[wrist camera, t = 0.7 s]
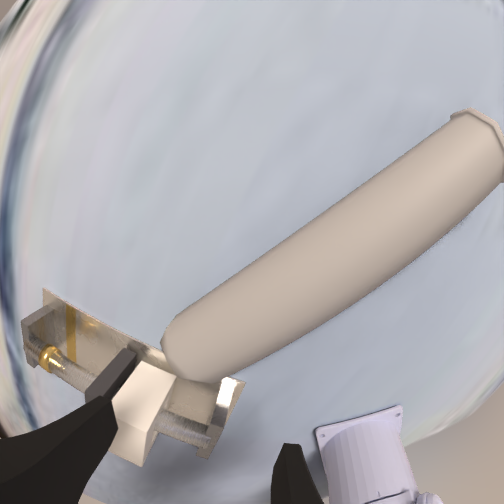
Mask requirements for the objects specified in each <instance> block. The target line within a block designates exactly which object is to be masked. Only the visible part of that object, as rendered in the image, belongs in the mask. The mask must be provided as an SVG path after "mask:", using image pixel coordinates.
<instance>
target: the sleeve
mask: <svg viewBox="0 0 504 504" xmlns="http://www.w3.org/2000/svg"><path fill="white" fill-rule="evenodd" d="M175 380H176V376H175V375H173V374H170V373H168V372H166V371H163V370H161V369H159V368H157V367H154V366H152V365H150V364H148V363H146V362H143V361H141V362H140V363H139V365H138V366H137V367H136V369H135V370H134V371H133V373H132V374H131V375H130V377H129V378H128V379H127V381H126V382H125V383H124V385H123V386H122V387H121V389H120V390H119V391H118V393H117V394H116V395H115V397H114V398H113V400H112V405H113V409H114V413H115V417H116V421H117V425H118V428H119V429H118V431H117V433H116V436H115V438H114V440H113V442H112V444H111V446H110V448H109V449H108V451H110V452H111V453H113V454H115V455H117V456H119V457H121V458H123V459H125V460H127V461H129V462H132V463H134V464H136V465H138V466H140V467H142V466H143V464H144V462H145V460H146V458H147V456H148V454H149V452H150V450H151V448H152V445H153V443H154V441H155V439H156V437H157V435H158V433H159V432H157V431H155V430H154V426H155V422H156V420H157V418H158V416H159V414H160V412H161V410H162V408H164V409H166V410H168V408H169V404H170V400H171V396H172V392H173V388H174V384H175Z"/></svg>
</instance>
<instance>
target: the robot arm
mask: <svg viewBox="0 0 504 504" xmlns="http://www.w3.org/2000/svg"><path fill="white" fill-rule="evenodd" d="M402 414H403V408H402V406H401V405H398V406H395V407H392V408H389V409H386V410H383V411H380V412H377V413H373V414H370V415H366V416H363V417H359V418H356V419H352V420H348V421H344V422H340V423H336V424H331V425H327V426H322V427H319V428H317V429H316V437H317V441H318V445H319V449H320V453H321V458H322V462H323V466H324V471H325V475H326V476H327V481H328V492H329V503H330V504H443V502H442V501H441V499H440V498H439V497H438V496H437V495H436V494H430V493H428V492H425V493H423V494H419V491H418V488H417V484H416V482H415V478H414V475H413V472H412V470H411V467H410V464H409V461H408V458H407V455H406V453H405V450H404V447H403V444H402V442H401V439H400V432H401V424H402ZM118 429H119V428H118V425H117V421H116V417H115V413H114V409H113V405H112V401H111V400H110V399H107V398H105V397H103V396H100V395H99V396H97V397H96V398H94V399H93V400H91V401H89V402H88V403H86V404H84V405H83V406H81V407H80V408H78V409H76V410H75V411H73V412H71V413H69V414H68V415H66V416H64V417H62V418H60V419H59V420H57V421H55V422H52V423H50V424H48V425H46V426H44V427H42V428H39V429H37V430H34V431H31V432H28V433H25V434H22V435H18V436H14V437H10V438H4V439H0V504H78V502H79V499H80V497H81V495H82V493H83V490H84V488H85V486H86V484H87V482H88V480H89V479H90V477H91V475H92V474H93V472H94V471H95V469H96V468H97V466H98V465H99V463H100V462H101V460H102V459H103V457H104V456H105V454H106V453H107V451H108V449H109V448H110V446H111V444H112V442H113V440H114V438H115V436H116V433H117V431H118ZM321 434H322V435H321ZM271 504H324V502H323V501H322V499H321V497H320V495H319V493H318V491H317V489H316V486H315V484H314V482H313V480H312V477H311V475H310V472H309V470H308V467H307V464H306V461H305V458H304V455H303V451H302V448H301V446H300V445H299V444H289V443H284V444H283V447H282V449H281V451H280V454H279V456H278V458H277V461H276V463H275V465H274V467H273V475H272V483H271Z"/></svg>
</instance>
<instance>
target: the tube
mask: <svg viewBox="0 0 504 504" xmlns="http://www.w3.org/2000/svg"><path fill="white" fill-rule="evenodd" d="M450 118H451V120H450V121H449V122H447V123H446V124H445V125H443V126H442V127H441V128H439V129H438V130H436V131H435V132H434V133H432V134H431V135H430V136H428V137H427V138H426V139H424V140H423V141H421V142H420V143H419V144H417V145H416V146H415V147H413V148H412V149H410V150H409V151H408V152H406V153H405V154H404V155H402V156H401V157H399V158H398V159H397V160H395V161H394V162H393V163H391V164H390V165H388V166H387V167H386V168H384V169H383V170H381V171H380V172H379V173H377V174H376V175H374V176H373V177H372V178H370V179H369V180H368V181H366V182H365V183H363V184H362V185H361V186H359V187H358V188H356V189H355V190H354V191H352V192H351V193H349V194H348V195H347V196H345V197H344V198H342V199H341V200H340V201H338V202H337V203H335V204H334V205H333V206H331V207H330V208H328V209H327V210H326V211H324V212H323V213H321V214H320V215H319V216H317V217H316V218H314V219H313V220H312V221H310V222H309V223H307V224H306V225H304V226H303V227H302V228H300V229H299V230H297V231H296V232H295V233H293V234H292V235H290V236H289V237H288V238H286V239H285V240H283V241H282V242H280V243H279V244H278V245H276V246H275V247H273V248H272V249H270V250H269V251H268V252H266V253H265V254H263V255H262V256H261V257H259V258H258V259H256V260H255V261H253V262H252V263H251V264H249V265H248V266H246V267H245V268H243V269H242V270H241V271H239V272H238V273H236V274H235V275H233V276H232V277H231V278H229V279H228V280H226V281H225V282H223V283H222V284H220V285H219V286H218V287H216V288H215V289H213V290H212V291H210V292H209V293H208V294H206V295H205V296H203V297H202V298H200V299H199V300H197V301H196V302H195V303H193V304H192V305H190V306H189V307H187V308H186V309H184V310H183V311H181V312H180V313H179V314H177V315H176V316H175V318H174V319H173V320H172V321H171V323H170V324H169V325H168V327H167V328H166V330H165V332H164V334H163V337H162V339H161V341H160V344H161V347H162V350H163V353H164V356H165V358H166V361H167V362H168V364H169V365H170V367H171V369H172V370H173V372H174V373H175V375H176V376H177V378H179V379H185V380H191V381H197V382H203V383H210V384H214V383H216V382H218V381H220V380H222V379H224V378H226V377H228V376H230V375H232V374H234V373H236V372H238V371H240V370H242V369H244V368H246V367H248V366H250V365H252V364H254V363H256V362H257V361H259V360H261V359H263V358H265V357H267V356H269V355H270V354H272V353H274V352H276V351H278V350H279V349H281V348H283V347H285V346H286V345H288V344H290V343H292V342H293V341H295V340H297V339H299V338H300V337H302V336H304V335H305V334H307V333H309V332H310V331H312V330H314V329H315V328H317V327H318V326H320V325H322V324H323V323H325V322H327V321H328V320H330V319H331V318H333V317H334V316H336V315H338V314H339V313H341V312H342V311H344V310H345V309H347V308H348V307H350V306H351V305H353V304H354V303H356V302H357V301H359V300H360V299H362V298H363V297H364V296H366V295H367V294H369V293H370V292H372V291H373V290H375V289H376V288H377V287H379V286H380V285H382V284H383V283H384V282H386V281H387V280H388V279H390V278H391V277H393V276H394V275H395V274H397V273H398V272H399V271H401V270H402V269H403V268H404V267H406V266H407V265H408V264H410V263H411V262H412V261H414V260H415V259H416V258H417V257H419V256H420V255H421V254H422V253H424V252H425V251H426V250H427V249H429V248H430V247H431V246H432V245H433V244H435V243H436V242H437V241H438V240H439V239H441V238H442V237H443V236H444V235H445V234H446V233H448V232H449V231H450V230H451V229H452V228H453V227H455V226H456V225H457V224H458V223H459V222H460V221H461V220H462V219H463V218H465V217H466V216H467V215H468V214H469V213H470V212H471V211H472V210H473V209H474V208H475V207H476V206H477V205H479V204H480V203H481V202H482V201H483V200H484V199H485V198H486V197H487V196H488V195H489V194H490V193H491V192H492V191H493V190H494V189H495V188H496V187H497V186H498V185H499V184H500V183H501V182H502V183H504V136H503V133H502V131H501V129H500V127H499V125H498V123H497V122H496V121H494V120H493V119H491V118H489V117H487V116H486V115H484V114H482V113H480V112H479V111H477V110H475V109H473V108H471V107H470V108H467V109H464V110H461V111H459V112H456V113H453V114H452V115H451V116H450Z"/></svg>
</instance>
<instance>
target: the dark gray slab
mask: <svg viewBox="0 0 504 504" xmlns="http://www.w3.org/2000/svg"><path fill="white" fill-rule="evenodd" d="M136 355H137V354H136V353H134V352H132V351H130V350H128V349H126V348H123V349H122V350H121V351H120V352H119V353H118V354H117V355H116V356H115V358H114V359H113V360H112V361H111V362H110V363H109V364H108V365H107V366H106V368H105V369H104V370H103V371H102V372H101V373H100V374H99V375H98V377H97V378H96V379H95V380H94V381H93V382H92V383H91V385H90V386H89V387H88V388H87V389H86V390H85V402H86V403H88V402H89V401H91V400H93V399H94V398H96V397H97V396H99V395H100V396H103V397H105V398H107V399H110V398H111V397H112V396H113V394H114V393H115V392H116V390H117V389H118V388H121V387H122V386H123V385H124V383H125V382H126V381H127V379H128V378H129V377H130V375H131V374H132V373H133V371H134V370H135V362H136Z"/></svg>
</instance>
